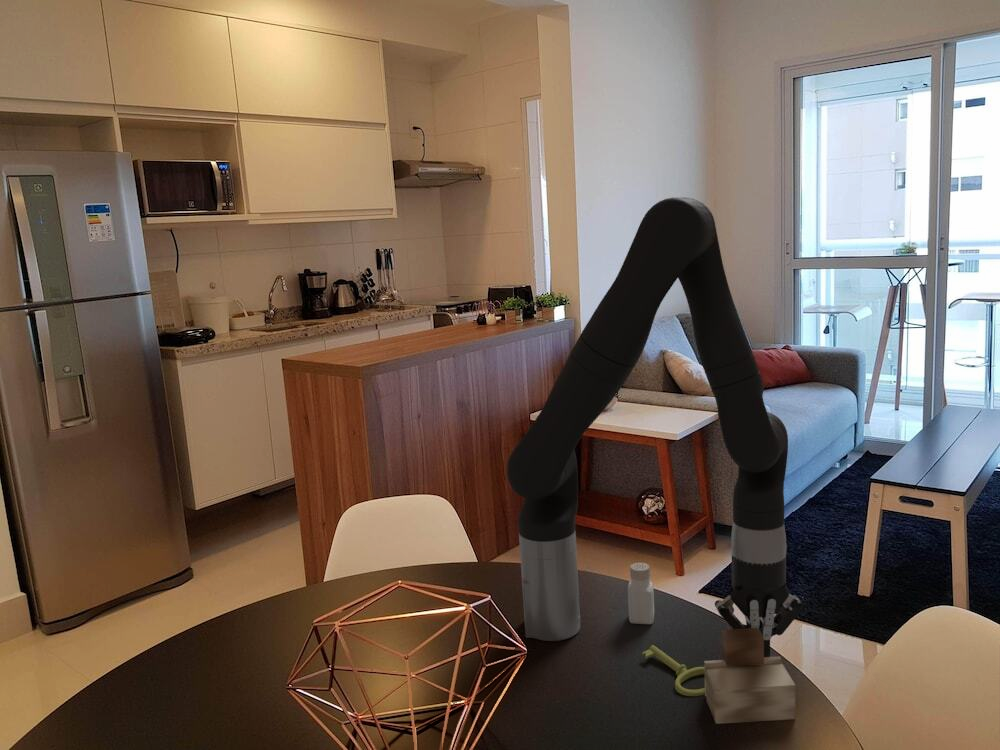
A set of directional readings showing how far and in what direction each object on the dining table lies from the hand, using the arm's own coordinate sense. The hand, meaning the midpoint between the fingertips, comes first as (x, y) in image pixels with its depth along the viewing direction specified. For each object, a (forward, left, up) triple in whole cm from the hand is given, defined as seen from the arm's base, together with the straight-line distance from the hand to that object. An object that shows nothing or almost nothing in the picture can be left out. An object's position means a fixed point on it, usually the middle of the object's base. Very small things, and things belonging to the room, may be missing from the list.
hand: (758, 659), depth 121 cm
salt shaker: (-15, +15, -1) cm, 21 cm away
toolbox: (-5, -11, -1) cm, 12 cm away
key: (-12, -1, -1) cm, 12 cm away
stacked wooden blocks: (-5, -9, 0) cm, 10 cm away
